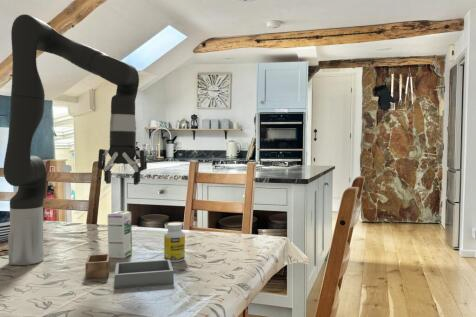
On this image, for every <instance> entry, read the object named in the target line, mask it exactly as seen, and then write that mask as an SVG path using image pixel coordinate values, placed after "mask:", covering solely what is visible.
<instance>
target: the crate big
mask: <svg viewBox="0 0 476 317" xmlns="http://www.w3.org/2000/svg"><path fill="white" fill-rule="evenodd" d="M162 285H163V286H164V285H174V268H173V265H172V262H171V261H170V259H169V260H165V259H158V260H157V259H156V260H155V259H154V260H143V261H141V260H140V261H138V260H137V261H127V262H125V261H124V262H123V261H122V262H116V263H115V269H114V289H124V288H125V289H127V288H137V287H149V286H150V287H151V286H162Z"/></svg>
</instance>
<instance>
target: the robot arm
mask: <svg viewBox="0 0 476 317" xmlns="http://www.w3.org/2000/svg"><path fill="white" fill-rule="evenodd" d="M10 32H11V36H10V37H11V52H12V53H11V54H12V70H11V72H12V73H11V90H10V106H9V110H10V113H9V124H8V138H7V145H6V150H5V156H4V160H3V167H2V168H3V176H4V179H5V181H6V183H8V184H9V186H13V187H18V188H17V191H16V193H15V194H14V195H13V196H12V197H11V198H10V199H9V224H10V225H9V229H10V230H9V231H10V232H9V233H8V234H7V242H8V252H7V253H8V265H10V266H12V265H13V266H29V265H35V264H38V263H41V262H43V261H44V260H45V258H44V257H45V256H44V255H45V254H44V252H45V251H44V199H45V196H46V192H47V191H46V189H47V188H46V186H47V169H46V164H45V162H44V160H43V159H41V157H40V156H37V155H31V150H32V142H33V138H34V135H35V134H36V131H37V129H38V127H39V125H40V124H41V121H42V119H43V116H44V111H45V95H46V94H45V88H44V85H43V82H42V79H41V76H40V74H39V71H38V65H37V64H38V63H37V52H38V51H41V52H45V53H49V54H51V55H55V56H58V57H60V58H63V59H65V60H67V61H68V62H70V63H71V64H73V65H75V66H76V67H78V68H80V69H83V70H84V71H86V72H89V73H90V74H93V75H95V76H99V77H100V78H102V79H104V80H105V81H108V82H109V83H112V84H113V85H115V86H116V92H115V94H114V95H113V96H112V97H111V102H110V120H109V149H105V148H99V150H98V157H97V158H98V160H97V168H98V169H99V170H102V171H103V174H104V177H103V178H104V180H103V181H104V182H105V184H107V185H109V184H112V171H111V170H112V168H113V167H114V166H115V165H116V164H117V165H120V164H121V165H122V164H123V165H129V166H130V167H131V168H132V170H133V171H134V172H133V185H134V186H135V185H138V184H139V183H140V182H141V172H143V171H144V170H145V171H146V170H147V168H148V166H147V165H148V164H147V151H146V150H145V149H140V150H137V149H136V147H137V146H136V145H137V141H136V139H137V136H136V135H137V122H136V98H137V95H138V91H139V90H138V89H139V85H140V84H139V83H140V79H139V78H140V76H139V72H138V70H137V69H136V68H135V67H134V66H133V65H131V64H129V63H127V62H125V61H123V60H120V59H117V58H115V57H112V56H111V55H108V54H107V53H104V52H103V51H100V50H98V49H96V48H94V47H91V46H89V45H87V44H84V43H81V42H79V41H76V40H74V39H71V38H70V37H67V36H65V35H63V34H61V33H60V32H58V31H57V30H56V29H55V28H53V27H51V26H50V25H49V24H47V23H46V22H45V21H43V20H40V19H39V18H36V17H34V16H33V15H30V14H24V13H23V14H20V15H18V16H17V17H16V18H15V19H14V21H13V22H12V26H11V31H10ZM108 155H109V157H110V159H108V161H107V163H106V159H107V158H106V157H107V156H108ZM136 156H138V158H139V163H140V164H139V163H138V161H136V159H135V157H136Z"/></svg>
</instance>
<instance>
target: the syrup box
mask: <svg viewBox="0 0 476 317" xmlns="http://www.w3.org/2000/svg"><path fill="white" fill-rule="evenodd" d="M132 231H133V230H132V211H128V210H119V211H117V210H116V211H115V212H111V213H107V248H108V249H107V250H108V251H107V254H110V259H125V258H127V257H128V256H131V255H132V254H133V235H132V234H133V232H132Z"/></svg>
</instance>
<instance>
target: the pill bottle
mask: <svg viewBox="0 0 476 317" xmlns="http://www.w3.org/2000/svg"><path fill="white" fill-rule="evenodd" d="M166 226H167V227H166V228H167V231H166V232H164V236H163V245H164V248H163V252H164V254H163V256H164V257H163V258H164V259H163V260H169V259H170V261H171V263H179V262H182V261H184V260H185V258H186V257H185V255H186V254H185V253H186V252H185V249H186V248H185V247H186V246H185V244H186V240H185V239H186V237H185V236H186V234H185V232H184V231H183V230H182V229H183V223H182V222H169V223H167V224H166Z"/></svg>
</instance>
